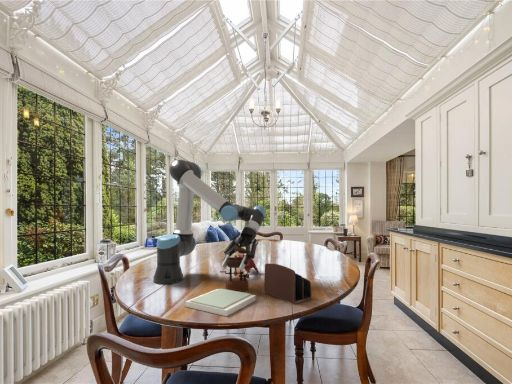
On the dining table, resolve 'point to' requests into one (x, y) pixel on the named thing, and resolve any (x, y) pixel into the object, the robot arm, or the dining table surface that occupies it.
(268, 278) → the letter holder
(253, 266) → the red winged figure
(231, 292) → the display stand
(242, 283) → the music box
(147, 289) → the dining table surface
